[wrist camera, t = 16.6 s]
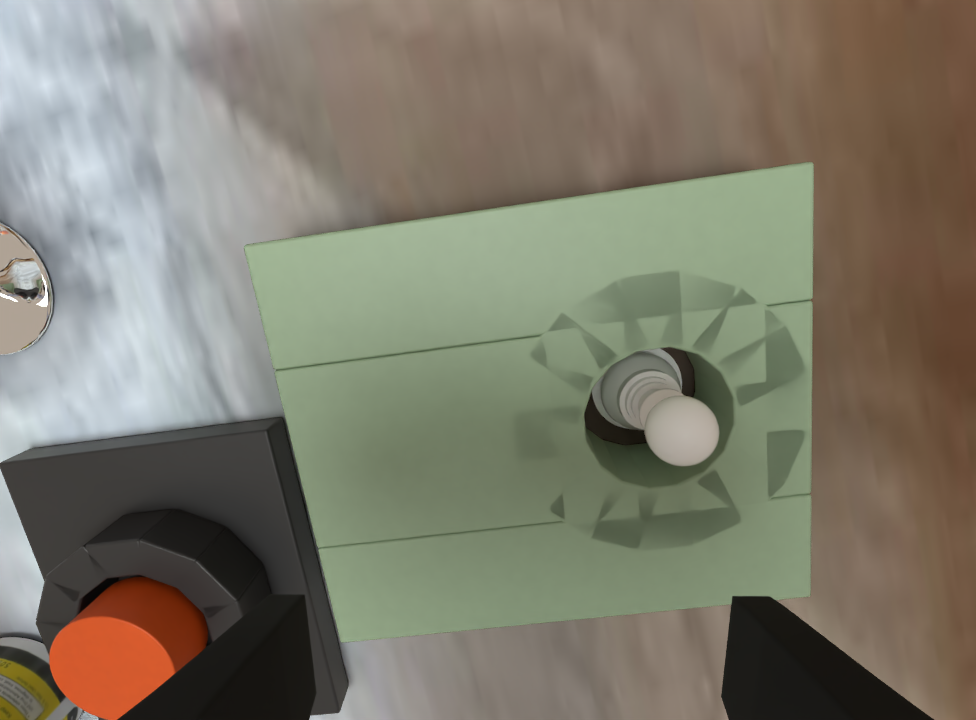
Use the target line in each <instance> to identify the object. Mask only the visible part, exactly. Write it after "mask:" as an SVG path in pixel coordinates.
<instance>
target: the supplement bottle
mask: <svg viewBox="0 0 976 720" xmlns="http://www.w3.org/2000/svg"><path fill="white" fill-rule="evenodd" d="M82 710H83V709H81V708H79V707H78V706H76V705H75V704H74V703H73V702H71V701H70V700H69V699H68V698H67V697H66V696H65V695H64V694H63V692H62V691H61V690H60V689H59V687H58V685H57V684H56V682H55V680H54V678H53V676H52V673H51V669H50V664H49V655H48V652H47V650H46V647H45V645H44V644H43V643H40V642H37V641H35V640H31V639H26V638H18V637H6V638H0V720H78V719H79V717H80V715H81V713H82Z"/></svg>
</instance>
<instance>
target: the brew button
mask: <svg viewBox="0 0 976 720" xmlns="http://www.w3.org/2000/svg"><path fill="white" fill-rule="evenodd" d="M207 640H208V627H207V623H206V619H205V617H204V614H203V613H202V612H201V611H200V610H199V609H198V608H197V607H196V606H195V605H194V604H193V603H192V602H191V601H190V600H189V599H188V598H187V597H186V596H185V595H184V594H183V593H182V592H181V591H180V590H179V589H177V588H176V587H173V586H170V585H167V584H164V583H162V582H159V581H156V580H153V579H150V578H148V577H133V578H127V579H124V580H121V581H118V582H116V583H114V584H112V585H111V586H109V587H108V588H107V589H106V590H105V591H104V592H103V593H101V594H100V595H99V596H98V597H97V598H96V599H95V600H94V601H93V602H92V603H90V604H89V605H88V606H87V607H86V608H85V609H84V610H83V611H82V612H81V613H79V614H78V615H77V616H76V617H75V618H74V619H73V620H72V621H71V622H70V623H68V624H67V625H66V626H65V627H64V628H63V629H62V630H61V631H60V632H59V633H58V634H57V636H56V637H55V639H54V641H53V643H52V646H51V649H50V655H49V664H50V669H51V673H52V676H53V678H54V680H55V682H56V684H57V685H58V687H59V689H60V690H61V691H62V692H63V694H64V695H65V696H66V697H67V698H68V699H69V700H70V701H71V702H73V703H74V704H75V705H76V706H78V707H79V708H81V709H83V710H84V711H86V712H88V713H90V714H92V715H95V716H97V717H100V718H104V719H107V720H117V719H118V718H120V717H121V716H122V715H124V714H125V713H126V712H128V711H129V710H130V709H131V708H133V707H134V706H135V705H137V704H138V703H139V702H140V701H142V700H143V699H144V698H146V697H147V696H148V695H149V694H151V693H152V692H153V691H154V690H156V689H157V688H158V687H159V686H161V685H162V684H163V683H164V682H165V681H167V680H168V679H169V678H170V677H171V676H173V675H174V674H175V673H176V672H177V671H179V670H180V669H181V668H182V667H183V666H185V665H186V664H187V663H188V662H190V661H191V660H192V659H193V658H194V657H196V656H197V655H198V654H199V653H200V652H202V651H203V650H204V649H205V648H206V644H207Z"/></svg>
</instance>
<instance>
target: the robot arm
mask: <svg viewBox="0 0 976 720" xmlns="http://www.w3.org/2000/svg"><path fill="white" fill-rule="evenodd" d="M316 693H317V692H316V684H315V675H314V667H313V658H312V650H311V641H310V633H309V625H308V616H307V608H306V599H305V595H294V594H270V595H269V596H267V597H266V598H265V599H264V600H262V601H261V602H260V603H258V604H257V605H256V606H255V607H254V608H252V609H251V610H250V611H249V612H248V613H246V614H245V615H244V616H243V617H242V618H240V619H239V620H238V621H237V622H236V623H235V624H233V625H232V626H231V627H230V628H229V629H228V630H226V631H225V632H224V633H223V634H222V635H220V636H219V637H218V638H217V639H216V640H215V641H213V642H212V643H211V644H210V645H209V646H208V647H206V648H205V649H204V650H203V651H202V652H200V653H199V654H198V655H197V656H196V657H194V658H193V659H192V660H191V661H190V662H188V663H187V664H186V665H185V666H183V667H182V668H181V669H180V670H179V671H177V672H176V673H175V674H174V675H173V676H171V677H170V678H169V679H168V680H167V681H165V682H164V683H163V684H162V685H161V686H159V687H158V688H157V689H156V690H154V691H153V692H152V693H151V694H149V695H148V696H147V697H146V698H144V699H143V700H142V701H140V702H139V703H138V704H137V705H135V706H134V707H133V708H131V709H130V710H129V711H128V712H126V713H125V714H124V715H122V716H121V717H120V718H118V719H117V720H309V718H310V714H311V711H312V707H313V704H314V700H315V697H316ZM721 697H722V700H723V703H724V706H725V709H726V712H727V715H728V718H729V720H934V719H932V718H931V717H930V716H928V715H927V714H925V713H924V712H923V711H921V710H920V709H919V708H917V707H916V706H914V705H913V704H912V703H910V702H909V701H908V700H906V699H905V698H904V697H902V696H901V695H900V694H898V693H897V692H896V691H894V690H893V689H892V688H890V687H889V686H888V685H886V684H885V683H884V682H882V681H881V680H880V679H878V678H877V677H876V676H874V675H873V674H872V673H870V672H869V671H868V670H866V669H865V668H864V667H862V666H861V665H860V664H859V663H857V662H856V661H855V660H853V659H852V658H851V657H849V656H848V655H847V654H846V653H844V652H843V651H842V650H840V649H839V648H838V647H836V646H835V645H834V644H833V643H831V642H830V641H829V640H827V639H826V638H825V637H824V636H822V635H821V634H820V633H818V632H817V631H816V630H814V629H813V628H812V627H811V626H809V625H808V624H807V623H805V622H804V621H803V620H801V619H800V618H799V617H798V616H796V615H795V614H794V613H792V612H791V611H790V610H788V609H787V608H786V607H784V606H783V605H781V604H780V603H779V602H777V601H776V600H774V599H773V598H772V597H770V596H732V604H731V613H730V622H729V632H728V641H727V650H726V659H725V668H724V677H723V686H722V695H721Z"/></svg>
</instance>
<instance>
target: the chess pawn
mask: <svg viewBox="0 0 976 720" xmlns="http://www.w3.org/2000/svg"><path fill="white" fill-rule="evenodd" d="M681 391H682V378H681V373H680V370H679V367H678V365H677V364H676V362H675V361H674V359H673V358H672V357H671V356H670V355H669V354H668V353H667V352H665V351H664V350H662V349H661V348H659V349H651V350H643V351H637V352H635V353H634V354H632V355H630V356H628V357H626V358H624V359H623V360H621V361H619V362H617V363H615V364H613V365H612V366H611V367H610V368H609V369H608V370H607V371H606V373H605V374H604V375H603V376H602V377H601V379H600V380H599V381H598V382H597V383H596V384H595V386H594V387H593V388H592V391H591V392H592V397H593V401H594V403H595V406H596V408H597V409H598V411H599V412H600V414H601V415H602V416H603V417H604V418H605V419H606V420H607V421H609V422H611V423H612V424H614V425H616V426H619V427H622V428H627V429H635V430H645V431H644V432H645V438H646V440H647V443H648V445H649V447H650V449H651V450H652V452H653V453H654V454H655V455H656V456H657V457H658V458H660V459H661V460H663V461H664V462H666V463H669V464H672V465H675V466H691V465H696V464H698V463H701V462H702V461H704V460H706V459H707V458H708V457H709V456H710V455H711V454H712V453H713V451H714V450H715V448H716V446H717V443H718V440H719V425H718V422H717V419H716V417H715V415H714V413H713V412H712V411H711V409H710V408H709V407H708V406H707V405H706V404H704V403H703V402H701V401H699V400H698V399H695V398H693V397H689V396H684V395H683V394H682V393H681Z"/></svg>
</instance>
